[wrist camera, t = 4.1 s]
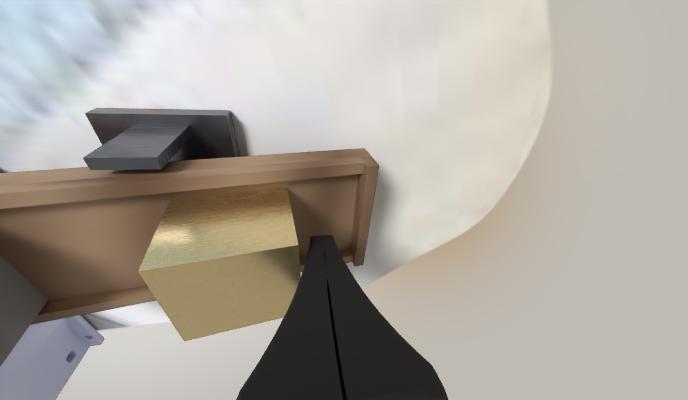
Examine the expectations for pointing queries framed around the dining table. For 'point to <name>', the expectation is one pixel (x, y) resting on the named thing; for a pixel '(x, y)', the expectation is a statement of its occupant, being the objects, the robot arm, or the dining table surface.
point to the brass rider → (224, 261)
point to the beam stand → (159, 137)
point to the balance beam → (151, 225)
